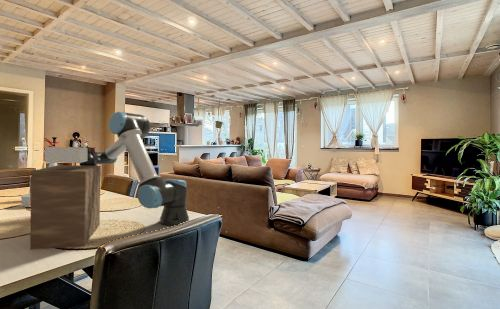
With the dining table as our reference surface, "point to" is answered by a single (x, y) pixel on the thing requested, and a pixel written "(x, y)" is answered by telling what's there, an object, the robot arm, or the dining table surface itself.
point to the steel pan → (66, 155)
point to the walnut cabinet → (64, 205)
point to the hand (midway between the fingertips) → (78, 144)
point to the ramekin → (25, 200)
